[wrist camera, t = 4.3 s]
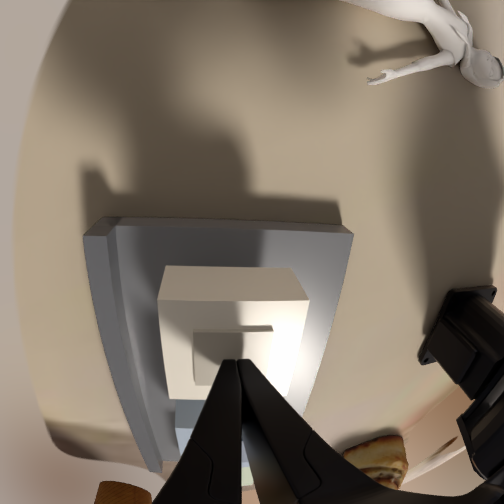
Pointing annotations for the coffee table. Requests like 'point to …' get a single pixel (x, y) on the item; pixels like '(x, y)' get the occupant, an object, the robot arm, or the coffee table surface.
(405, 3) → the woman figurine
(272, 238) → the keypad
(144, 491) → the disposable coffee cup
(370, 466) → the pastry
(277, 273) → the key ivory
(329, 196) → the coffee table surface
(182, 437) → the key blue
